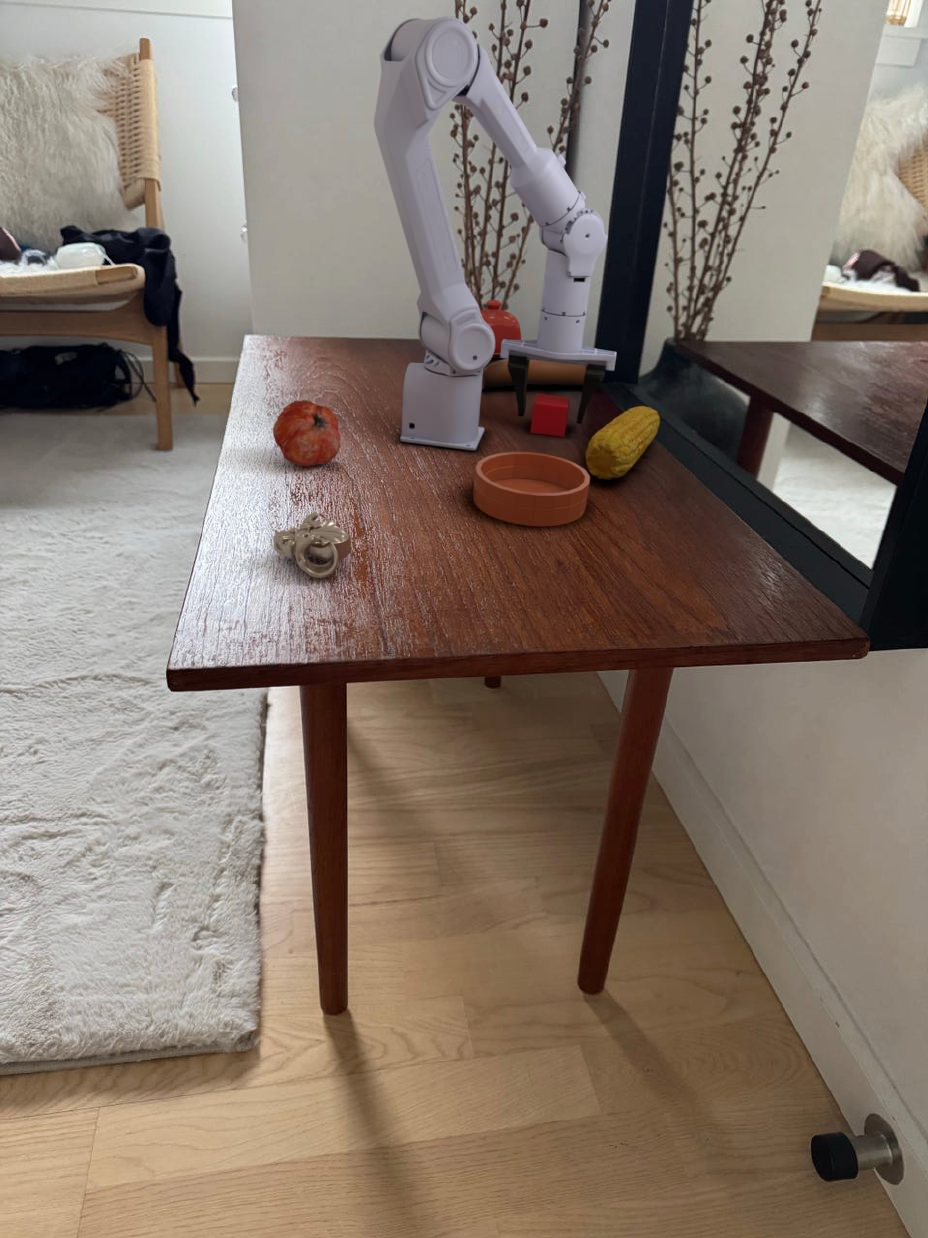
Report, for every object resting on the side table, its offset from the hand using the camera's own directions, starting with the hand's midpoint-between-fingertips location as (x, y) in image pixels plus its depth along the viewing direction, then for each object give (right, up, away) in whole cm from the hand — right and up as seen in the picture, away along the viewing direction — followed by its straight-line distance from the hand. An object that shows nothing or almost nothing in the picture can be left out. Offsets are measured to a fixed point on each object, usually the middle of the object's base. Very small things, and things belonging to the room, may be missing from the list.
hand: (550, 417), depth 117 cm
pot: (-4, -14, -20) cm, 25 cm away
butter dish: (-7, +18, +33) cm, 38 cm away
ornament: (-25, -21, -36) cm, 48 cm away
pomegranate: (-29, -9, -15) cm, 34 cm away
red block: (0, -1, +1) cm, 2 cm away
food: (+8, -7, -7) cm, 13 cm away
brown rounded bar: (-1, +9, +18) cm, 20 cm away
